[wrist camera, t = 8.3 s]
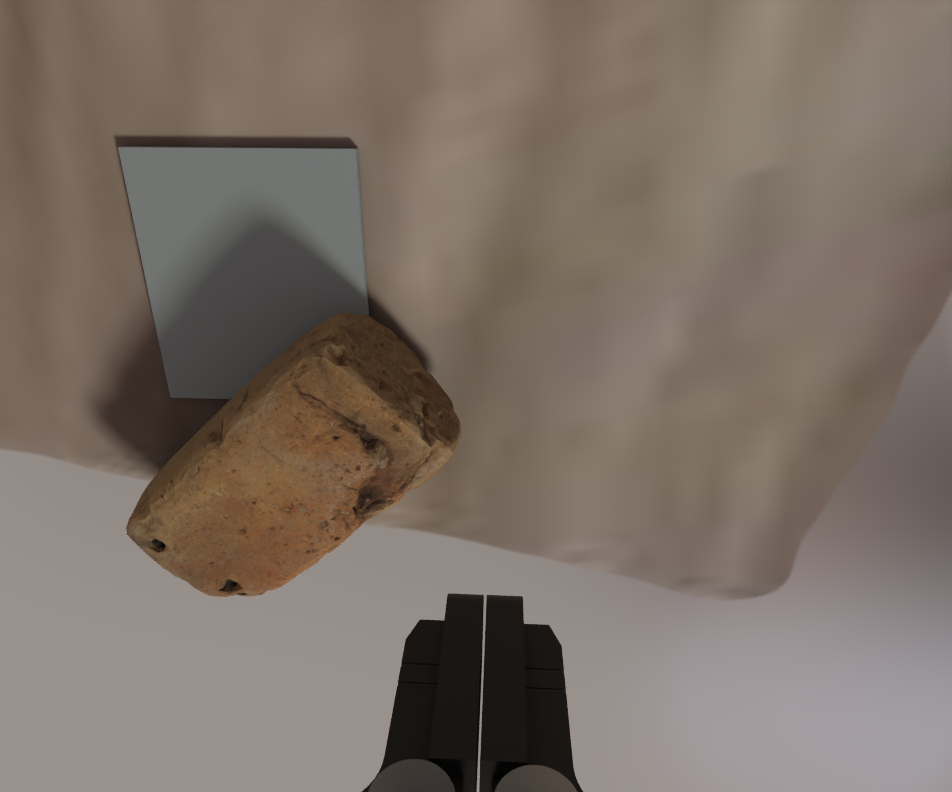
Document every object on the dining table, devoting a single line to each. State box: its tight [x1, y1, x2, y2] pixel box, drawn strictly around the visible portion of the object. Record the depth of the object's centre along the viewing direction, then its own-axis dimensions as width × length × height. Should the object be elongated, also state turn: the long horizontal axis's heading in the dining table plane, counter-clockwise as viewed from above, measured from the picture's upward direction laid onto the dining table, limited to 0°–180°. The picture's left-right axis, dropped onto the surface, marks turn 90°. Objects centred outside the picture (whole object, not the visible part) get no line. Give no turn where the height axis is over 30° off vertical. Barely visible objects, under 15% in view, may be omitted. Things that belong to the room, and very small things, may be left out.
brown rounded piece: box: [126, 312, 461, 597], centre depth 40 cm, size 11×8×20 cm
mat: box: [118, 146, 369, 399], centre depth 39 cm, size 15×13×1 cm
